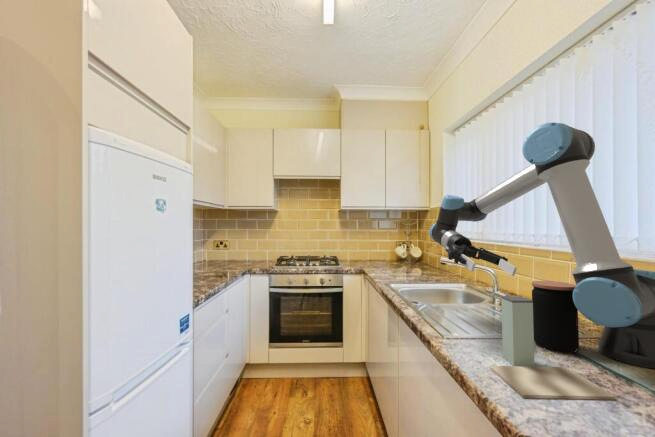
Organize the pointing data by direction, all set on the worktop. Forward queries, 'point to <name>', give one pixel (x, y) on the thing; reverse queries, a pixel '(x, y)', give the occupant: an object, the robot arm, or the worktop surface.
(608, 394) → the birch board
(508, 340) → the sage block
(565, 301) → the coffee jar
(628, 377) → the worktop surface
